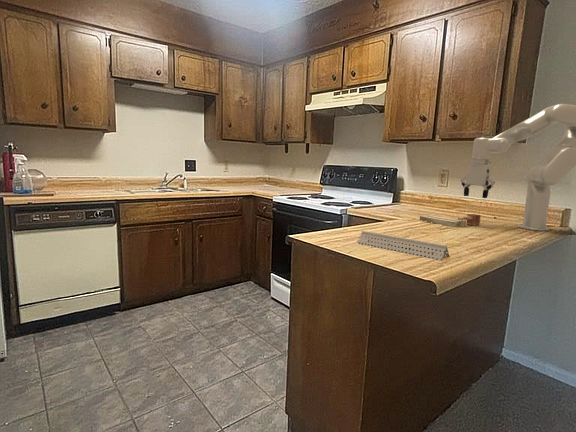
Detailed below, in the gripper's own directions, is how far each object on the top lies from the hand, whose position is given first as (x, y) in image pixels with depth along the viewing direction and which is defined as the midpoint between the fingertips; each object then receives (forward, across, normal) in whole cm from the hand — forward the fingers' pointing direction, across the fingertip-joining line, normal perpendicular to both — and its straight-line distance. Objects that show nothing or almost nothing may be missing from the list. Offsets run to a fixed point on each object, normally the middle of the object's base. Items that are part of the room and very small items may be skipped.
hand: (475, 196), depth 180 cm
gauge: (+15, -1, +4) cm, 15 cm away
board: (+15, +11, +10) cm, 21 cm away
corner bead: (+16, -20, +78) cm, 82 cm away
